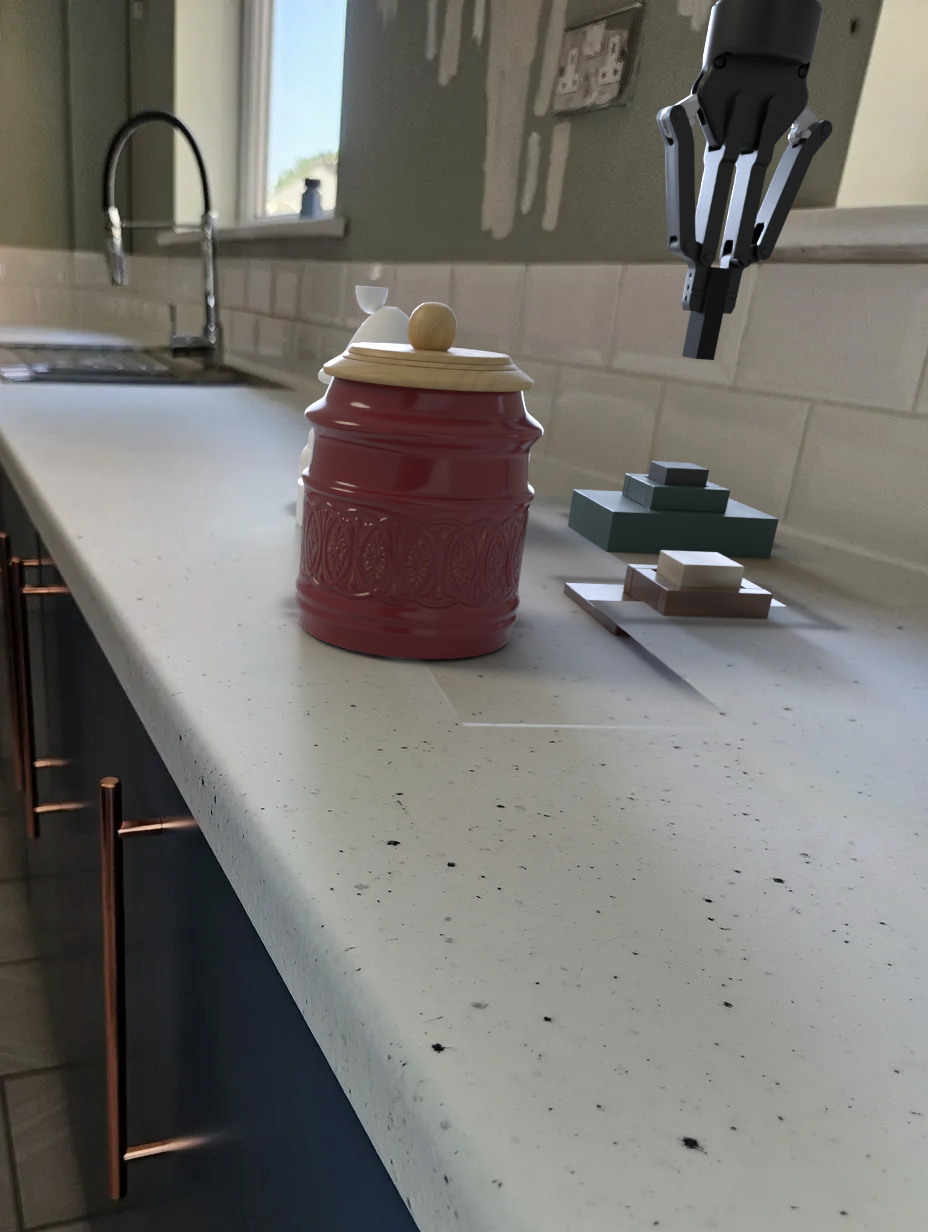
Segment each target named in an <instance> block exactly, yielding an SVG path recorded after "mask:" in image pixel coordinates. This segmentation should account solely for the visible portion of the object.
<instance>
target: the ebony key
mask: <svg viewBox="0 0 928 1232" xmlns="http://www.w3.org/2000/svg"><path fill="white" fill-rule="evenodd" d="M709 473H710V469H708V468H706V467H703V466H700V465H698V464H695V463H692V462H684V461H683V462H682V461H681V462H680V461H661V460H651V461H650V465H649V469H648V474H649V475H648V479H650V480H653V481H655V482H657V483H659V484H661V485H678V486H698V487H706V484H707V481H708V478H709Z"/></svg>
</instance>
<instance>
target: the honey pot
mask: <svg viewBox="0 0 928 1232" xmlns="http://www.w3.org/2000/svg"><path fill="white" fill-rule="evenodd" d="M389 290H390V287H380V286H369V285H367V286H366V285H355V297H356V302H357V304H358V306H359V308H360V309H361V310H362V311H363V312H364V313H366V314H369V316H368V317H367V318H366V319H365V320H364V322H362V324H361V325H360V326H359V327H358V329H357V330H356V332H355V334H353V336H352V338H351V340H350V341H349V343H348V345H347V346H346V348H345V350H344V352H346V351H347V350H348V348H349V347H350V346H351V345H352V344H355V343H390V344H410V342H409V339H408V334H407V328H408V322H409V319H410V316H408V315H407V314H406V313H405V312H404V311H402V310H401V308H400V307H397V306H388V305H385V304H386V301H387V299H388V295H389ZM332 377H333V376H330V375H327V374H325V373H324V371H323V367H322V368H321V369H320V370H319V371H318V373H317V378H318V380H319V382H321V383H323V384H325V385H328V386H327V389H326V392H327V390H328V388H329V385H330V383H331V380H332ZM326 392H325V393H326ZM307 436H308V437H307V439H308V442H307V444H306V446H305V447H303V449H302V451H301V452H300V455H299V459H298V465H299V470H298V476H300V477H299V478H298V481H297V487H296V489H297V491H296V508H295V509H296V511H295V523H296V525H298V526H299V527H300V528H302V515H303V497H304V483H303V481H302V473H303V471H304V470H305V469H306V468H307V467H309V465H310V461H311V455H312V447H313V438H314V431H313V428H312V427H311V429H310V430H309V433H308V435H307Z"/></svg>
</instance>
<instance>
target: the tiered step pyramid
mask: <svg viewBox="0 0 928 1232" xmlns="http://www.w3.org/2000/svg"><path fill="white" fill-rule="evenodd" d="M648 475H649V473H646V474H645V473H627V472H626V473H625V474H624V480H623V485H622V490H621V491H620V490H599V489H582V488H581V489H578V488H574V489H573V490H572V494H571V495H572V497H571V503H570V509H569V516H568V522H567V527H568V528H570V529H571V530H573V531H575V532H576V533H578V534H579V535H581V536H582V537H583V538H585V539H587V540H588V541H590V542H591V543H593V544H594V545H596V546H597V547H599V548H600V549H602V550H603V551H605V552H607V553H629V554H650V555H651V554H654V555H660V551H661V550H669V551H694V552H717V553H719V554H721V555H723V556H725V557H727V558H729V557H730V558H751V559H752V558H753V559H754V558H756V559H770V558H771V554H772V551H773V546H774V541H775V538H776V533H777V530H778V525H779V520H780V519H779V518H777V517H775V516H773V515H771V514H768V513H766V512H763V511H761V510H759V509H756V508H753V507H751V506H749V505H746V504H744V503H742V502H739V501H736V500H734V499H732V498H730V495H731V489H729V488H726V487H723V486H720V485H718V484H715V483H712V482H711V481H708V480H707V484H706V487H698V486H678V485H661V484H659V483H657V482H655V481H653V480H650V479H648Z"/></svg>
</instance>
